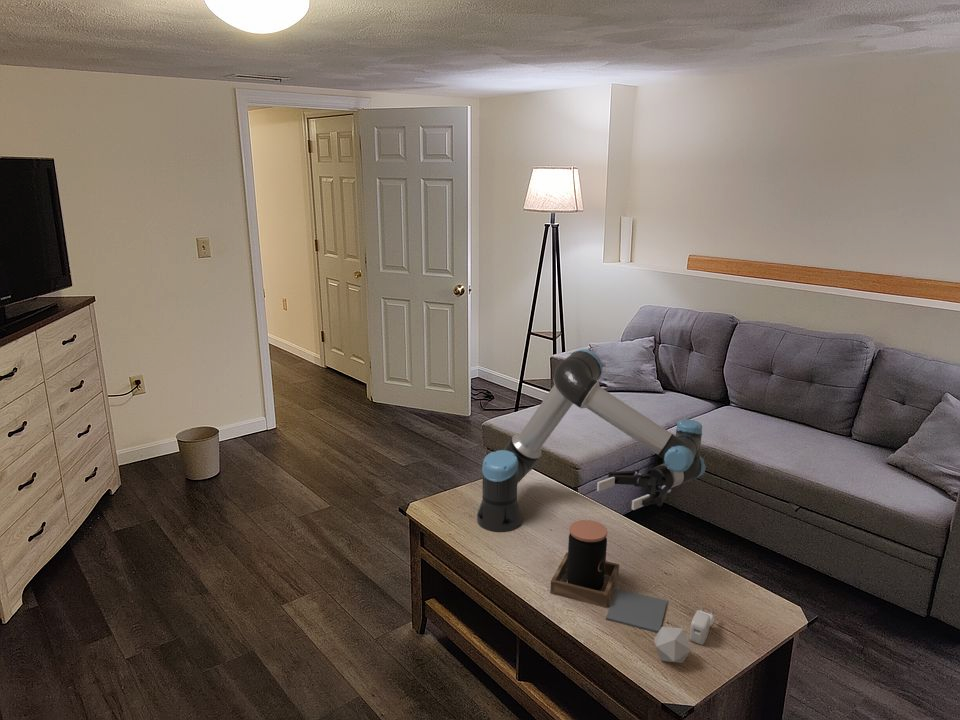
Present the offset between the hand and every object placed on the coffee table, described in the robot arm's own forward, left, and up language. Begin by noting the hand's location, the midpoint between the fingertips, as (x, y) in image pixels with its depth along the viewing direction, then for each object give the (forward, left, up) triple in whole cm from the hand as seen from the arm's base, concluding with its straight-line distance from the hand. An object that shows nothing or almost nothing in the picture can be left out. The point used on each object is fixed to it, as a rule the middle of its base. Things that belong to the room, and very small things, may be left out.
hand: (614, 495), depth 194 cm
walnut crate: (+8, -5, -26) cm, 27 cm away
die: (+29, +22, -26) cm, 45 cm away
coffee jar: (+8, -5, -26) cm, 28 cm away
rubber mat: (+14, +11, -26) cm, 31 cm away
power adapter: (+16, +28, -26) cm, 41 cm away
